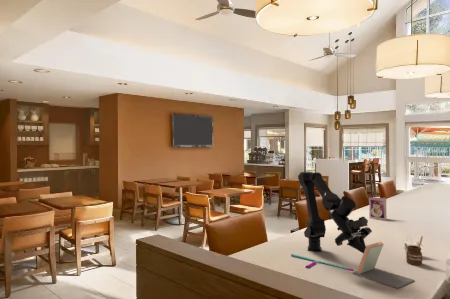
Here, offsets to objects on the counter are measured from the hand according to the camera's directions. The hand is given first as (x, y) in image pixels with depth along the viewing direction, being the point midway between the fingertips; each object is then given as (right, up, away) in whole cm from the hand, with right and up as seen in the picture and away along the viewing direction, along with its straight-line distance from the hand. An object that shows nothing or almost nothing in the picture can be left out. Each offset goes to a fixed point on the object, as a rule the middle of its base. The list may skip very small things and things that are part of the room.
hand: (367, 254), depth 130 cm
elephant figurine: (+30, -8, +21) cm, 38 cm away
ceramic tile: (+1, -1, -1) cm, 2 cm away
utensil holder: (+25, -8, +10) cm, 28 cm away
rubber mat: (+4, -7, -5) cm, 10 cm away
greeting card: (+54, -8, +103) cm, 116 cm away
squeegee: (-18, -9, +8) cm, 22 cm away
